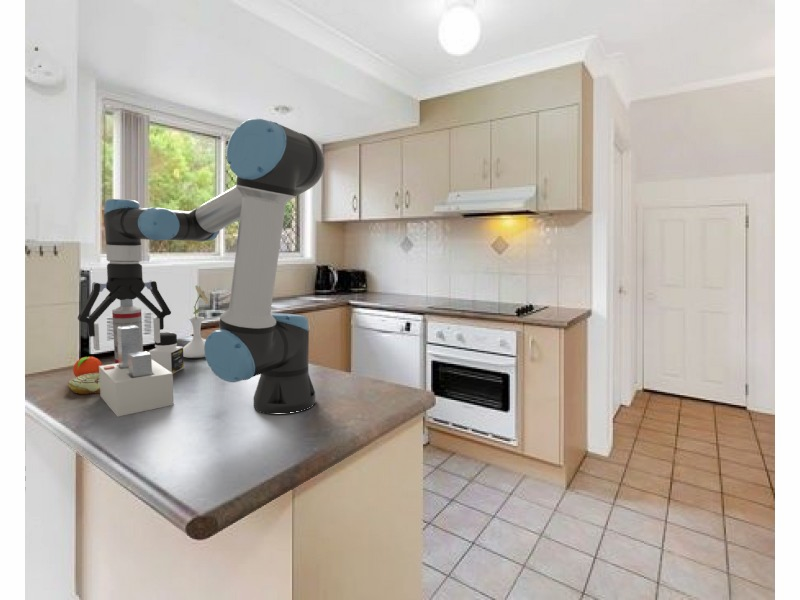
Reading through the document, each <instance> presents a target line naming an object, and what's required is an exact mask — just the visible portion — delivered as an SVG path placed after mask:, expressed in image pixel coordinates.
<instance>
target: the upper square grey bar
mask: <svg viewBox="0 0 800 600" xmlns="http://www.w3.org/2000/svg"><path fill="white" fill-rule="evenodd" d="M117 339H118V358H119V368H120V369H125V368H129V365H128V353H136V352H140V343H139V327H137V326H135V325H132V326H122V327H117Z"/></svg>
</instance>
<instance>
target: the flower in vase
mask: <svg viewBox="0 0 800 600" xmlns="http://www.w3.org/2000/svg"><path fill="white" fill-rule="evenodd" d="M194 287H195V290H196V292H197V294H198V297H197V299H196V300H195V304H194V306H193V308H194V311H193V315H194V316H191V317H188V320H189V321H190V323H191V325H192V330H193V332H192V333H193V336H192V339H191V341H189V342H188V343H187V344H186V345H184V346H182V347H183V358H188V359H200V358H206V357H205V352H204V345H205V341H206V340H204V339H203V338H202V336H201V327H202V323H203V321H204V319H205V317H204V316H197V314H199V313H200V312H201V311H202V309H200V308H199V307H198V308H197V307H196V306H197V303H198V301H199V299H201V300H202V301H203V302H204V303H205V304H207V305H210V303H211V302H210V301H209V297H208V296H207V295H206V294H205V293H206V292H205V291H204V290H203V289H201V286H200V285H199V286H198V284H196V285H195V286H194Z"/></svg>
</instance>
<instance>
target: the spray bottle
mask: <svg viewBox="0 0 800 600" xmlns="http://www.w3.org/2000/svg"><path fill="white" fill-rule="evenodd" d="M119 301H120V303H119V304H120V305H119V307H116V308H114V309H112V310H111V311H112V315H111V316H112V331H113V348H114V351H113V352H114V364H117V363H119V358H118V339H117V327H122V326H132V325H135V326H137V327H139V343H140V352H143V351H144V345H143V343H144V341H143V339H144V338H143V322H142V320H143V319H142V317H143V315H142V308H140V307H136V306H134V303H133V299H125V300H119Z"/></svg>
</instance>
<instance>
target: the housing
mask: <svg viewBox="0 0 800 600" xmlns="http://www.w3.org/2000/svg"><path fill="white" fill-rule="evenodd" d="M151 360H152V359H151ZM173 375H174V374H173V373H171V372H170V371H168V370H167V369H165V368H164V367H162V366H161V365H160V364H158V363H157V362H155V361H154V360H152V375H149V376H143V377H137V378H131V377H129V368H125V369H120V368H119V363H117V364H115V363H112V364H105V365H103V364H102V366H99V378H100V393H99V394H100V398H101V399H102V400H103V401H104V403H106V404H107V406H108V407H109V409H110V410H111V411H112V412H113V413H114V414H115V416H116V417H117V418H118V417H123V416H127V415H132V414H136V413H140V412H141V413H142V412H146V411H152V410H155V409H159V408H160V409H161V408H165V407H169V405H170V406H174V405H175V404H174V403H175V401H174V398H175V397H174V376H173Z"/></svg>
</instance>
